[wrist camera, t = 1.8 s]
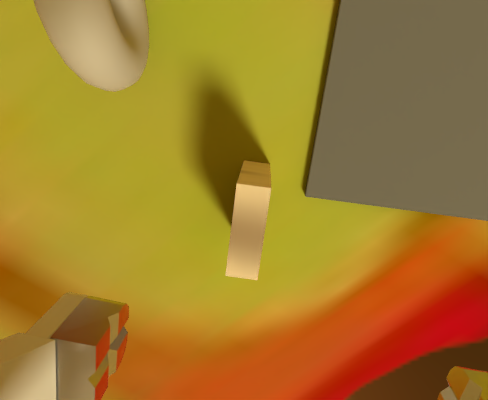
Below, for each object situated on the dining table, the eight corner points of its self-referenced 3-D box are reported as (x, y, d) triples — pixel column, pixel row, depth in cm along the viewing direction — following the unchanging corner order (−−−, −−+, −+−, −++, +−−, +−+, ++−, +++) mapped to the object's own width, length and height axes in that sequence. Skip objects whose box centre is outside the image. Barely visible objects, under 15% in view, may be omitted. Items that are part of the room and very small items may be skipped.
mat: (539, 225, 27) (544, 228, 27) (304, 194, 28) (305, 196, 27) (633, -10, 22) (642, -13, 22) (347, -44, 23) (350, -48, 22)
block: (259, 236, 29) (257, 280, 22) (235, 232, 29) (225, 275, 22) (270, 163, 27) (271, 188, 21) (243, 160, 27) (236, 183, 21)
